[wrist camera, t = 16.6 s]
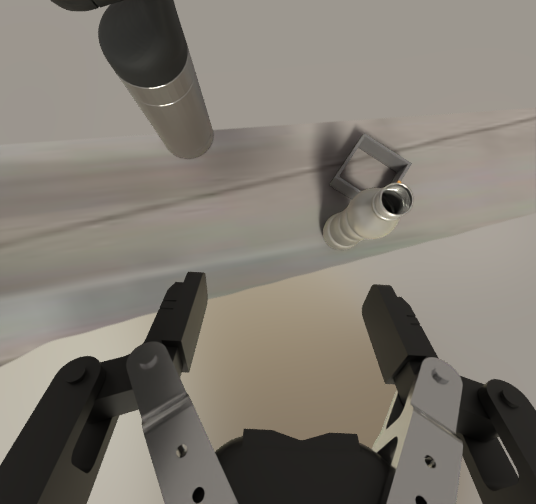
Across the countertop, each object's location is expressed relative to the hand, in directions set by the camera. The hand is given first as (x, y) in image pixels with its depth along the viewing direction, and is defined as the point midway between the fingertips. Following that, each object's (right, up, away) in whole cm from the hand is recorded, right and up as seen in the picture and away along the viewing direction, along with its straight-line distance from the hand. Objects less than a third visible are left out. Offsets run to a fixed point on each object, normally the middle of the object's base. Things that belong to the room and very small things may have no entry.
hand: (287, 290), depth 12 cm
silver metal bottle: (+12, +5, +34) cm, 37 cm away
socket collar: (+17, +16, +35) cm, 43 cm away
